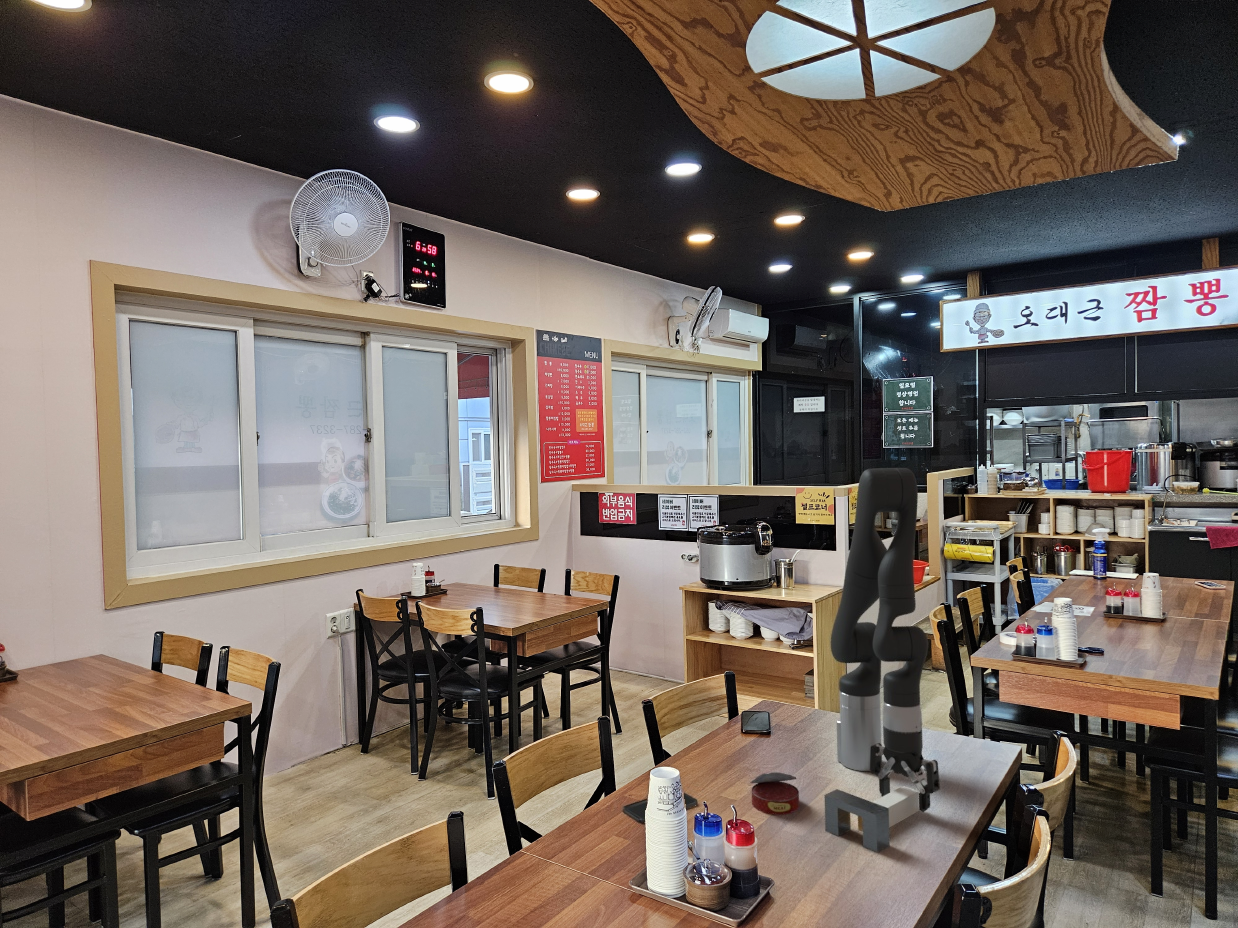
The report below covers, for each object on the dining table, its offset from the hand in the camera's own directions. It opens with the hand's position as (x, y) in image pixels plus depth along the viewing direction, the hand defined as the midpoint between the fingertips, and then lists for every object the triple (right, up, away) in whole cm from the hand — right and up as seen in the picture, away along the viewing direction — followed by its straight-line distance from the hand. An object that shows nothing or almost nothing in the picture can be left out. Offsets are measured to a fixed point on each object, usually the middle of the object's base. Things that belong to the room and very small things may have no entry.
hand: (904, 803), depth 161 cm
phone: (-50, -4, +5) cm, 50 cm away
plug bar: (-4, -2, -3) cm, 6 cm away
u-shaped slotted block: (-13, -2, -10) cm, 17 cm away
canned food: (-25, -3, +5) cm, 26 cm away
